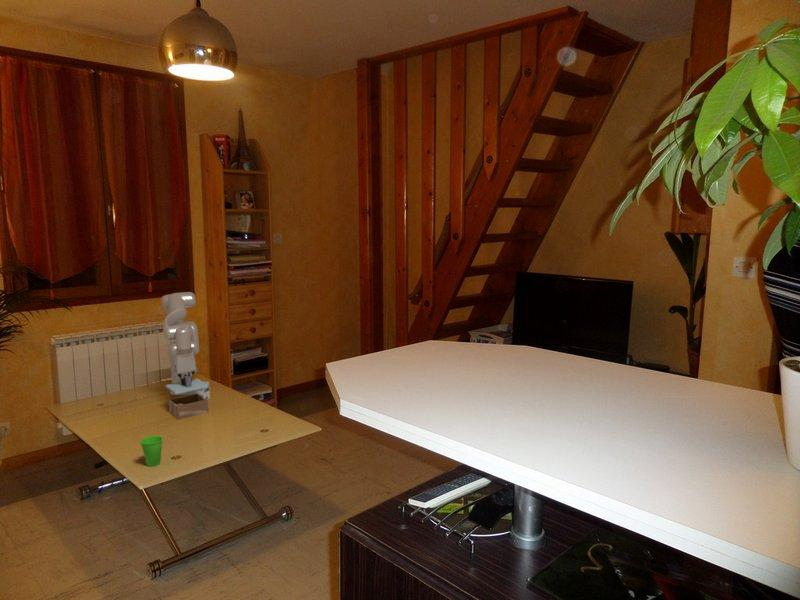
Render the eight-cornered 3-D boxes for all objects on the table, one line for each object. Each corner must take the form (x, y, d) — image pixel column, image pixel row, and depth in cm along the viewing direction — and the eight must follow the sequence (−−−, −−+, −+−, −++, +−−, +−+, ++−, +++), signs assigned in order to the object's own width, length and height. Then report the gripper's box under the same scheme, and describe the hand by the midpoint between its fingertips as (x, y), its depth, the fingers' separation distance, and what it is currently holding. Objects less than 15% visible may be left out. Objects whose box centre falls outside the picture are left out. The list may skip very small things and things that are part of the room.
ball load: (173, 412, 294) (173, 403, 293) (183, 410, 297) (182, 401, 296) (177, 414, 290) (176, 405, 289) (186, 412, 293) (185, 403, 293)
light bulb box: (210, 399, 318) (209, 381, 316) (205, 403, 311) (203, 384, 310) (192, 399, 319) (191, 381, 317) (187, 402, 312) (185, 384, 311)
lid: (165, 389, 293) (164, 376, 291) (197, 382, 303) (196, 369, 302) (175, 396, 281) (174, 383, 280) (208, 389, 292) (207, 376, 291)
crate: (169, 414, 294) (168, 400, 293) (199, 407, 304) (198, 393, 303) (178, 421, 283) (177, 406, 282) (208, 414, 294) (207, 399, 292)
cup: (137, 466, 232) (134, 442, 230) (154, 458, 240) (152, 434, 238) (152, 470, 228) (150, 445, 227) (169, 461, 236) (167, 437, 235)
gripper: (196, 347, 297) (199, 379, 300) (166, 352, 286) (168, 386, 290) (202, 349, 291) (204, 383, 294) (170, 355, 281) (173, 389, 284)
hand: (186, 384), depth 292 cm, fingers closed on lid, 2 cm apart
